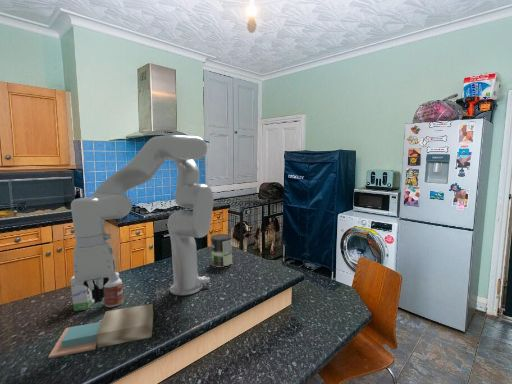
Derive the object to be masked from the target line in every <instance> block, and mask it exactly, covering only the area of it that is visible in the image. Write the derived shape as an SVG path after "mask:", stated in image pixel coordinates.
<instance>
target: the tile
mask: <svg viewBox="0 0 512 384" xmlns="http://www.w3.org/2000/svg"><path fill="white" fill-rule="evenodd" d="M101 322H102V321H99V322H98V323H97V322H92V323H93V324H92V323H88V324H87V323H86V324H87V325H86V324H82V326H80V325H75V326H76V327H74V326H70V328H69V327H68V328H69V329H68V331H67V333H66V335H65V336H64V338H63V340H62V348H65V347H70V346H76V345H81V344H86V343H91V342H96V341H97V332H98V330H99V327H100V325H101Z"/></svg>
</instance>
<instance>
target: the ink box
mask: <svg viewBox="0 0 512 384" xmlns="http://www.w3.org/2000/svg"><path fill="white" fill-rule="evenodd" d="M75 281H76V280H75V277H74V275H73V276H72V277H71V278H70V290H71V298H72V308H73V311H74V312H76V311H85V310H89V309H90V308H91V307H92V305H93V304H94V303H95V300H94V299H92V292H91V290H90V289H89V288H88V287H86V286H85V285H76V284H75Z"/></svg>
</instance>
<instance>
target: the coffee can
mask: <svg viewBox="0 0 512 384" xmlns="http://www.w3.org/2000/svg"><path fill="white" fill-rule="evenodd" d="M210 245H211V246H210V251H211V252H210V253H211V266H212V265H213V266H216V267H221V266H227V265H230V264H232V265H233V253H232V250H233V249H232V247H233V245H232V235H231V234H226V233H225V234H224V233H223V234H222V233H219V234H214V235H212V236H210ZM213 266H212V267H213ZM216 267H215V268H216Z"/></svg>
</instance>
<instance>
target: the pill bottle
mask: <svg viewBox="0 0 512 384" xmlns="http://www.w3.org/2000/svg"><path fill="white" fill-rule="evenodd" d="M115 273H116V275H117V276H116V278H115V279H113V280H110V281H108V282H107V283H106V284H105V285H104V292H105V297H103V299H104V301H103V302H104V306H105V307H106V308H114V307H117V306H120V305H121V304H123V303H124V292H123V280H122V278H120V273H119V272H118V271H117V272H116V271H115Z"/></svg>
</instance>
